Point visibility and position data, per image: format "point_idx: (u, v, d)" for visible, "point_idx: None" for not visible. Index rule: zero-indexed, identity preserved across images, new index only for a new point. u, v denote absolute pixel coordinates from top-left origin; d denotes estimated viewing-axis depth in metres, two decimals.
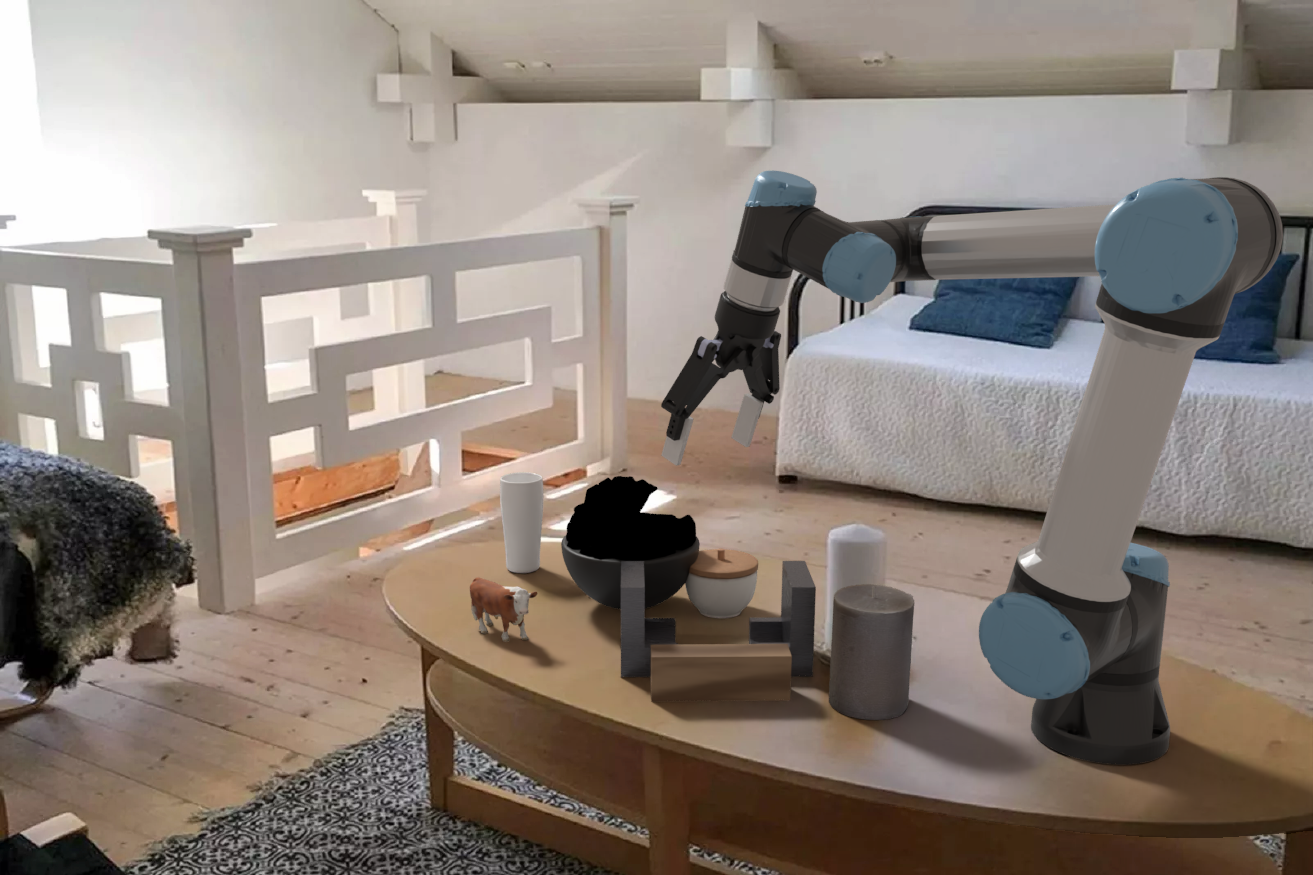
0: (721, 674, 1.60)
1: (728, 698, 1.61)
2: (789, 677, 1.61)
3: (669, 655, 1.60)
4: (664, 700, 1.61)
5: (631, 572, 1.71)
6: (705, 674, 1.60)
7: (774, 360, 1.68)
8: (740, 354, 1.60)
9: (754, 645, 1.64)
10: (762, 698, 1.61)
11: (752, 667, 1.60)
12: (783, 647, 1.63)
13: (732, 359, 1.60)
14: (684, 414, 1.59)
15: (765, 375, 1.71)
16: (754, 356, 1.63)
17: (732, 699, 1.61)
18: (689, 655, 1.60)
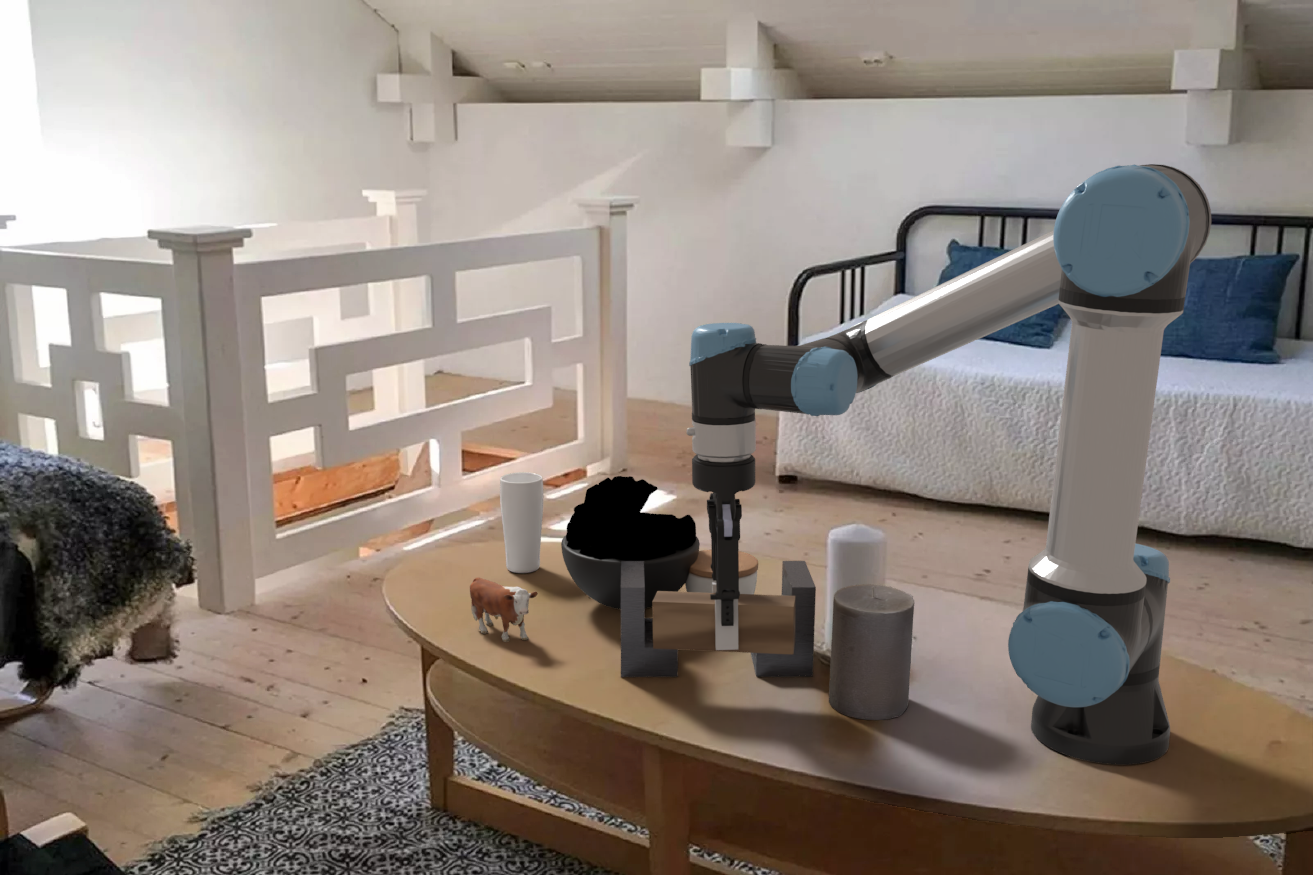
0: None
1: None
2: (791, 628, 1.57)
3: (671, 601, 1.60)
4: (666, 646, 1.60)
5: (631, 572, 1.71)
6: (706, 621, 1.59)
7: None
8: (741, 511, 1.56)
9: (760, 595, 1.61)
10: (764, 649, 1.59)
11: (753, 616, 1.58)
12: (789, 599, 1.60)
13: (739, 520, 1.56)
14: None
15: None
16: None
17: None
18: (690, 602, 1.59)
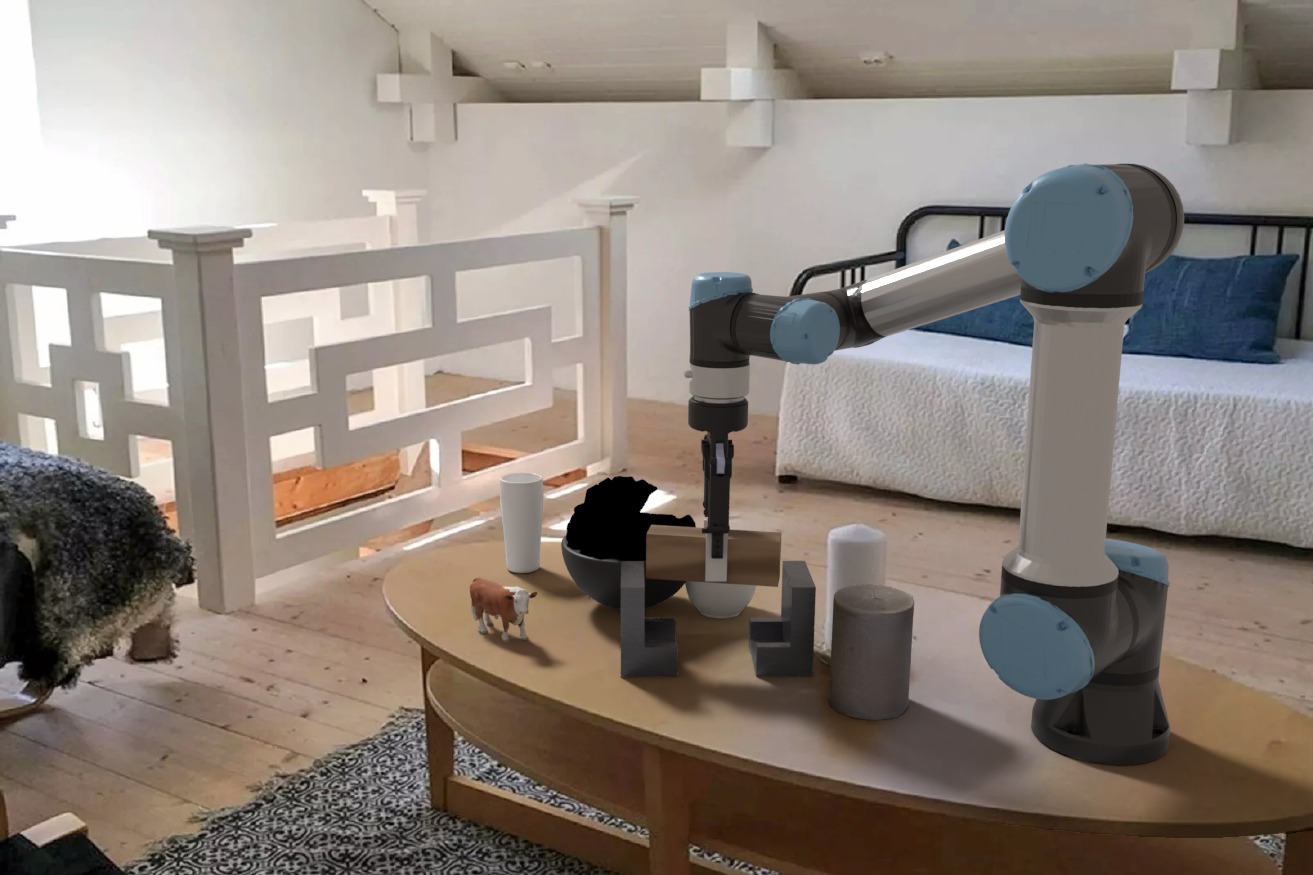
0: None
1: None
2: (777, 562, 1.67)
3: (664, 533, 1.69)
4: (658, 576, 1.70)
5: (631, 572, 1.71)
6: (696, 554, 1.68)
7: None
8: (733, 450, 1.65)
9: (749, 531, 1.70)
10: (751, 581, 1.68)
11: (741, 550, 1.67)
12: (776, 535, 1.69)
13: (731, 459, 1.65)
14: None
15: None
16: None
17: None
18: (682, 535, 1.68)
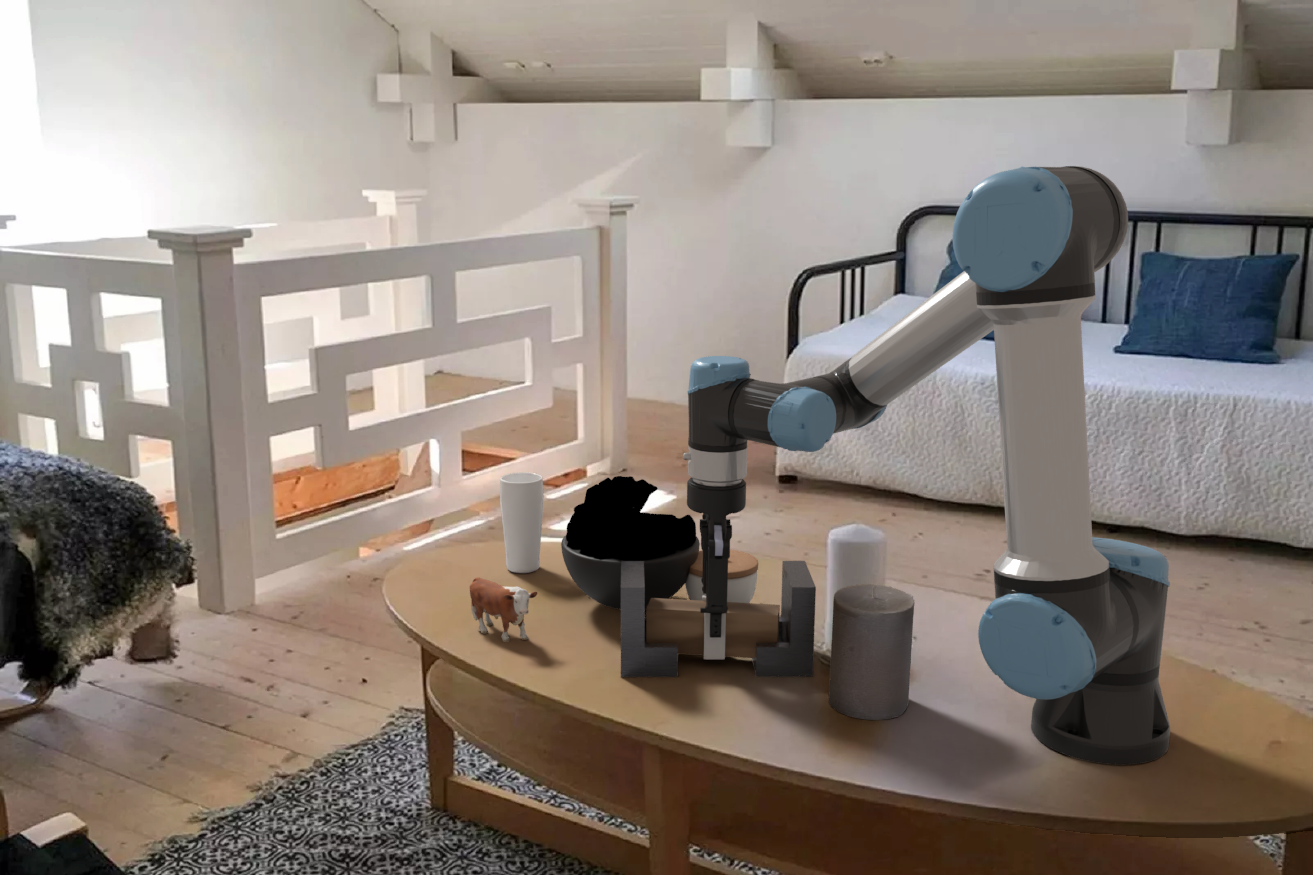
0: None
1: None
2: (776, 635, 1.69)
3: (663, 608, 1.71)
4: None
5: (631, 572, 1.71)
6: (696, 628, 1.71)
7: None
8: (731, 531, 1.68)
9: (747, 604, 1.73)
10: (750, 654, 1.70)
11: (740, 623, 1.70)
12: (774, 607, 1.71)
13: (729, 540, 1.67)
14: None
15: None
16: None
17: None
18: (682, 609, 1.71)
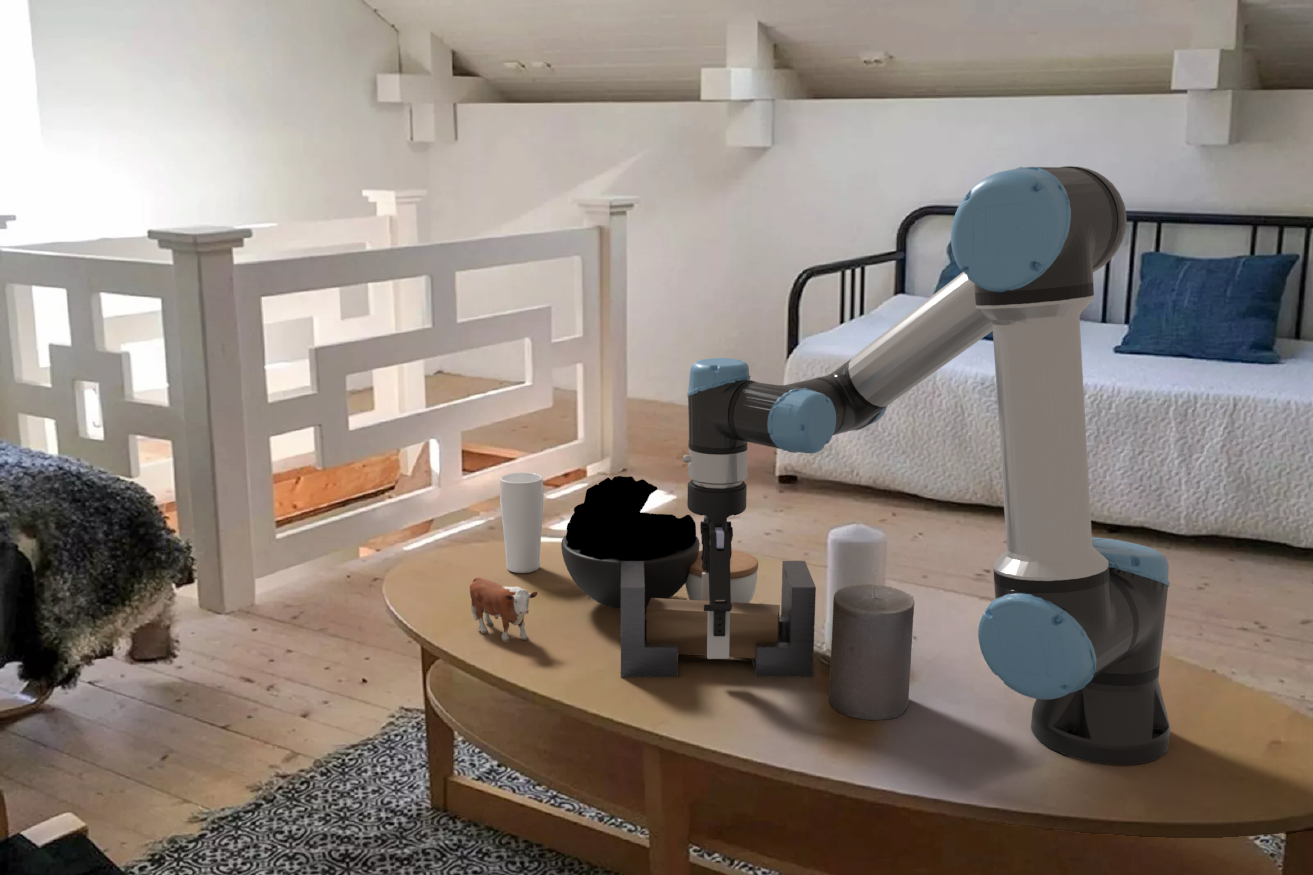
0: None
1: None
2: (776, 635, 1.69)
3: (663, 608, 1.71)
4: None
5: (631, 572, 1.71)
6: (696, 628, 1.71)
7: None
8: (732, 532, 1.68)
9: (747, 604, 1.73)
10: (750, 654, 1.70)
11: (740, 623, 1.70)
12: (774, 607, 1.71)
13: (730, 539, 1.67)
14: None
15: None
16: None
17: None
18: (682, 609, 1.71)
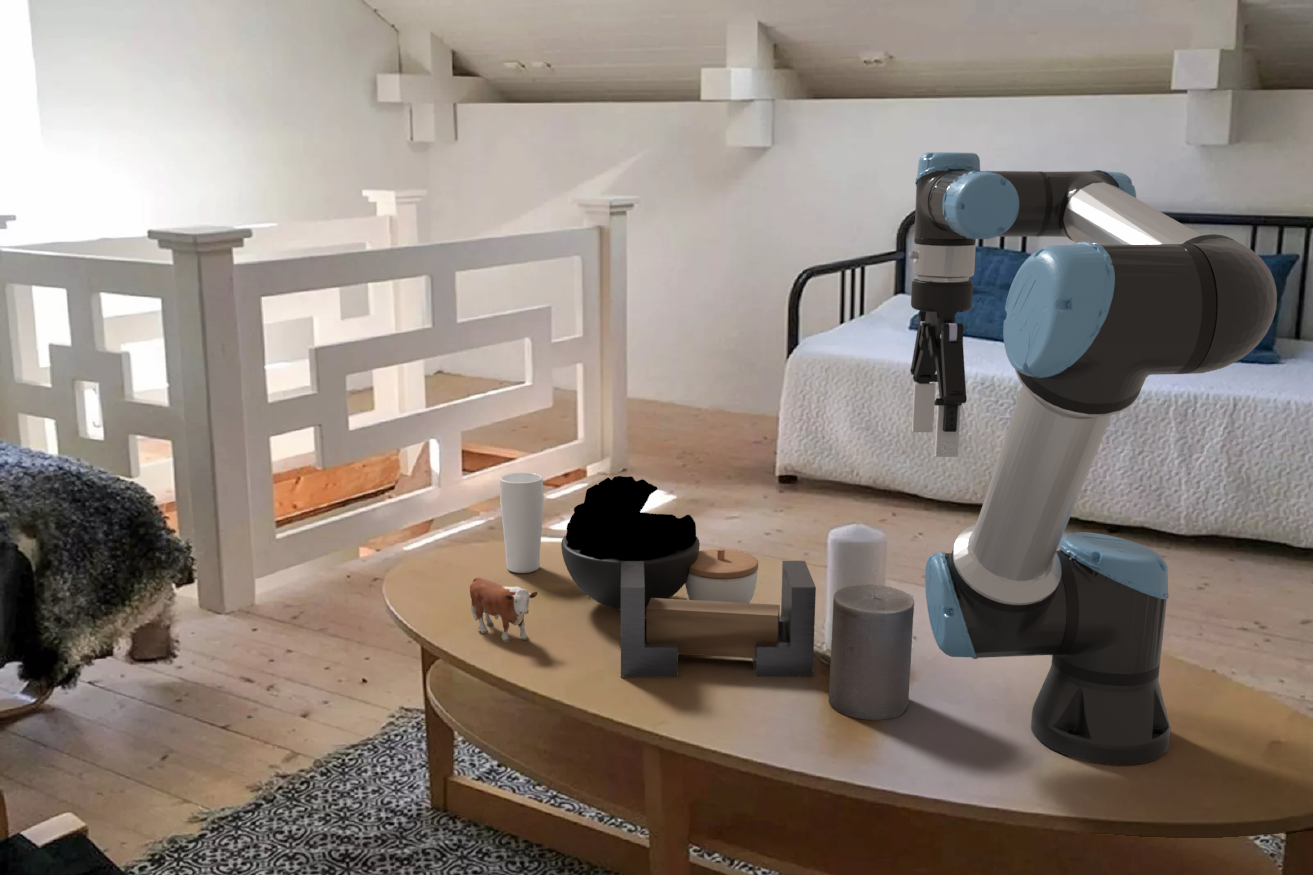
0: (711, 628, 1.70)
1: (718, 652, 1.71)
2: (776, 635, 1.69)
3: (663, 608, 1.71)
4: None
5: (631, 572, 1.71)
6: (696, 628, 1.71)
7: None
8: None
9: (747, 604, 1.73)
10: (750, 654, 1.70)
11: (740, 623, 1.70)
12: (774, 607, 1.71)
13: None
14: None
15: None
16: None
17: (722, 653, 1.71)
18: (682, 609, 1.71)
